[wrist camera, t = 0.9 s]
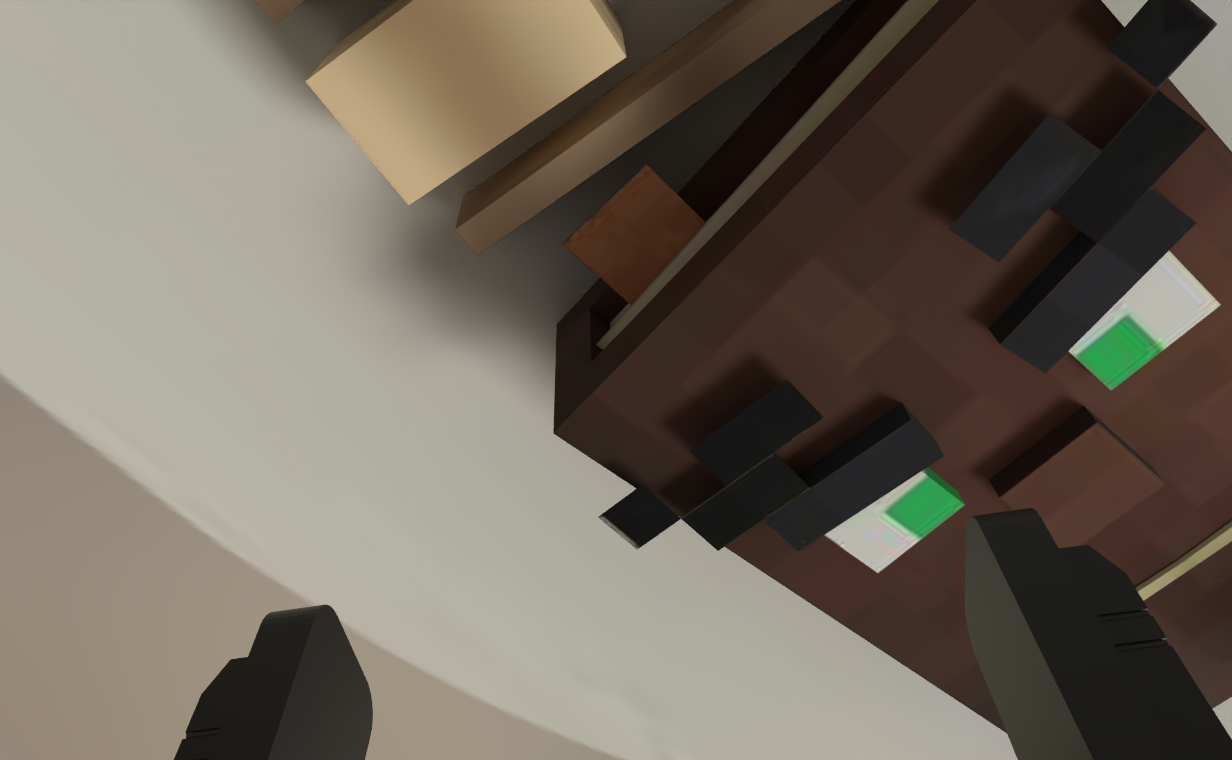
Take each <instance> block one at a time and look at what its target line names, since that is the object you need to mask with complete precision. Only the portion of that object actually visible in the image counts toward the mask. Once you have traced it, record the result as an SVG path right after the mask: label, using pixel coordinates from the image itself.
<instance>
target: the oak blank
mask: <svg viewBox="0 0 1232 760" xmlns="http://www.w3.org/2000/svg"><path fill="white" fill-rule="evenodd" d="M624 58H626V51H625V45H624V39H623V33H622V27H621V22H620V20H619V19H618V17H617V15H616V14H615V12H614V11H613V9H612V8H611V6H610V5H609V3H608V1H607V0H394V1H392V2H391V3H390V4H388V5H387V6H386V7H384V8H383V9H382V10H381V11H379V12H378V13H377V14H375V15H374V16H373V17H371V18H370V19H369V20H367V21H366V22H365V23H363V24H362V25H361V26H359V27H358V28H357V29H355V30H354V31H353V32H351V33H350V34H349V35H347V36H346V37H345V38H344V39H342V40H341V41H340V42H338V43H337V44H336V45H335V46H334V47H333V49H332V50H331V51H330V52H329V53H328V55H327V56H326V57H325V58H324V59H323V61H322V62H321V63H320V64H319V66H318V67H317V68H316V69H315V70H314V72H313V73H312V74H311V75H310V76H309V78H308V79H307V80H306V81H305V82H306V83H307V84H308V85H309V87H310V88H311V89H312V90H313V91H314V93H315V94H316V95H317V96H318V97H319V99H320V100H321V101H322V102H323V103H324V105H325V106H326V107H327V108H328V109H329V111H330V112H331V113H332V114H333V115H334V117H335V118H336V119H337V120H338V121H339V123H340V124H341V125H342V126H343V127H344V129H345V130H346V131H347V132H348V133H349V135H350V136H351V137H352V138H353V139H354V141H355V142H356V143H357V144H358V145H359V147H360V148H361V149H362V150H363V151H364V153H365V154H366V155H367V156H368V157H369V159H370V160H371V161H372V162H373V163H374V165H375V166H376V167H377V168H378V169H379V171H380V172H381V173H382V174H383V175H384V177H385V178H386V179H387V180H388V181H389V183H390V184H391V185H392V186H393V187H394V189H395V190H396V191H397V192H398V193H399V195H400V196H401V197H402V198H403V199H404V201H405V202H406V203H407V204H408V205H410V204H412V203H413V202H415V201H416V200H418V199H419V198H421V197H422V196H424V195H425V194H426V193H428V192H429V191H431V190H432V189H434V188H435V187H437V186H438V185H440V184H441V183H443V182H444V181H446V180H447V179H448V178H450V177H451V176H453V175H454V174H456V173H457V172H459V171H460V170H462V169H463V168H465V167H466V166H468V165H469V164H470V163H472V162H473V161H475V160H476V159H478V158H479V157H481V156H482V155H484V154H485V153H487V152H488V151H490V150H491V149H492V148H494V147H495V146H497V145H498V144H500V143H501V142H503V141H504V140H506V139H507V138H509V137H510V136H512V135H513V134H514V133H516V132H517V131H519V130H520V129H522V128H523V127H525V126H526V125H528V124H529V123H531V122H532V121H534V120H535V119H536V118H538V117H539V116H541V115H542V114H544V113H545V112H547V111H548V110H550V109H551V108H553V107H554V106H556V105H557V104H558V103H560V102H561V101H563V100H564V99H566V98H567V97H569V96H570V95H572V94H573V93H575V92H576V91H578V90H579V89H580V88H582V87H583V86H585V85H586V84H588V83H589V82H591V81H592V80H594V79H595V78H597V77H598V76H600V75H601V74H602V73H604V72H605V71H607V70H608V69H610V68H611V67H613V66H614V65H616V64H617V63H619V62H620V61H622V60H623V59H624Z"/></svg>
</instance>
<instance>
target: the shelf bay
mask: <svg viewBox="0 0 1232 760" xmlns="http://www.w3.org/2000/svg"><path fill="white" fill-rule="evenodd" d="M255 1H256V3H257V4H258V5H259V6H260V7H261V8H262V9H263V11H264V12H265V13H266V14H267V15H268V16H269V17H270V19H271V20H272V21H273V22H274V23H275V24H277V23H279V22H280V21H281V20H282V19H283V18H285V17H286V16H287V15H288V14H289V13H290V12H292V11H293V10H294V9H295V8H296V7H298V6H299V5H300V4H301V3H302V2H303V1H305V0H255ZM840 1H841V0H734V1H733V2H732V3H730V4H729V5H727V6H726V7H725V8H723V9H722V10H721V11H719V12H718V13H716V14H715V15H714V16H712V17H711V18H710V19H708V20H707V21H705V22H704V23H703V24H701V25H700V26H699V27H697V28H696V29H694V30H693V31H692V32H690V33H689V34H688V35H686V36H685V37H683V38H682V39H681V40H679V41H678V42H677V43H675V44H674V45H672V46H671V47H670V48H668V49H667V50H666V51H664V52H663V53H661V54H660V55H659V56H657V57H656V58H655V59H653V60H652V61H650V62H649V63H648V64H646V65H645V66H644V67H642V68H641V69H639V70H638V71H637V72H635V73H634V74H633V75H631V76H630V77H628V78H627V79H626V80H624V81H623V82H622V83H620V84H619V85H617V86H616V87H615V88H613V89H612V90H611V91H609V92H608V93H606V94H605V95H604V96H602V97H601V98H600V99H598V100H597V101H595V102H594V103H593V104H591V105H590V106H589V107H587V108H586V109H584V110H583V111H582V112H580V113H579V114H578V115H576V116H575V117H573V118H572V119H571V120H569V121H568V122H567V123H565V124H564V125H562V126H561V127H560V128H558V129H557V130H556V131H554V132H553V133H551V134H550V135H549V136H547V137H546V138H545V139H543V140H542V141H540V142H539V143H538V144H536V145H535V146H534V147H532V148H531V149H529V150H528V151H527V152H525V153H524V154H523V155H521V156H520V157H518V158H517V159H516V160H514V161H513V162H512V163H510V164H509V165H507V166H506V167H505V168H503V169H502V170H501V171H499V172H498V173H496V174H495V175H494V176H492V177H491V178H489V179H488V180H487V181H485V182H484V183H483V184H481V185H480V186H478V187H477V188H476V189H474V190H473V191H472V192H470V193H469V194H467V195H466V196H465V197H463V201H462V205H461V209H460V213H459V216H458V220H457V224H456V228H455V231H456V232H457V233H458V234H459V235H460V236H461V237H462V239H463V240H464V241H465V242H466V243H467V244H468V245H469V247H470V248H471V249H472V250H473V251H474V252H475V253H476V255H477V256H478V255H479V254H481V253H482V252H483V251H485V250H486V249H488V248H489V247H491V246H492V245H493V244H495V243H496V242H498V241H499V240H500V239H502V238H503V237H505V236H506V235H508V234H509V233H510V232H512V231H513V230H515V229H516V228H518V227H519V226H520V225H522V224H523V223H525V222H526V221H528V220H529V219H530V218H532V217H533V216H535V215H536V214H538V213H539V212H540V211H542V210H543V209H545V208H546V207H547V206H549V205H550V204H552V203H553V202H555V201H556V200H557V199H559V198H560V197H562V196H563V195H565V194H566V193H567V192H569V191H570V190H572V189H573V188H575V187H576V186H577V185H579V184H580V183H582V182H583V181H585V180H586V179H587V178H589V177H590V176H592V175H593V174H595V173H596V172H597V171H599V170H600V169H602V168H603V167H604V166H606V165H607V164H609V163H610V162H612V161H613V160H614V159H616V158H617V157H619V156H620V155H622V154H623V153H624V152H626V151H627V150H629V149H630V148H632V147H633V146H634V145H636V144H637V143H639V142H640V141H642V140H643V139H644V138H646V137H647V136H649V135H650V134H651V133H653V132H654V131H656V130H657V129H659V128H660V127H661V126H663V125H664V124H666V123H667V122H669V121H670V120H671V119H673V118H674V117H676V116H677V115H679V114H680V113H681V112H683V111H684V110H686V109H687V108H689V107H690V106H691V105H693V104H694V103H696V102H697V101H699V100H700V99H701V98H703V97H704V96H706V95H707V94H708V93H710V92H711V91H713V90H714V89H716V88H717V87H718V86H720V85H721V84H723V83H724V82H726V81H727V80H728V79H730V78H731V77H733V76H734V75H736V74H737V73H738V72H740V71H741V70H743V69H744V68H746V67H747V66H748V65H750V64H751V63H753V62H754V61H755V60H757V59H758V58H760V57H761V56H763V55H764V54H765V53H767V52H768V51H770V50H771V49H773V48H774V47H775V46H777V45H778V44H780V43H781V42H783V41H784V40H785V39H787V38H788V37H790V36H791V35H793V34H794V33H795V32H797V31H798V30H800V29H801V28H803V27H804V26H805V25H807V24H808V23H810V22H811V21H812V20H814V19H815V18H817V17H818V16H820V15H821V14H822V13H824V12H825V11H827V10H828V9H830V8H831V7H832V6H834V5H835V4H837V3H838V2H840Z"/></svg>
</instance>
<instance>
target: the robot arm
mask: <svg viewBox="0 0 1232 760" xmlns="http://www.w3.org/2000/svg"><path fill="white" fill-rule="evenodd" d="M965 614H966V621H967V627H968V632H969V636H970V640H971V644H972V648H973V651H974V654H975V656H976V659H977V661H978V664H979V666H980V669H981V671H982V674H983V676H984V678H985V681H986V683H987V686H988V688H989V691H990V693H991V695H992V698H993V700H994V703H995V705H996V708H997V710H998V712H999V715H1000V717H1001V720H1002V722H1003V725H1004V727H1005V729H1006V732H1007V734H1008V737H1009V739H1010V741H1011V744H1012V746H1013V749H1014V751H1015V754H1016V756H1017V758H1018V760H1232V739H1231V738H1230V736H1229V735H1228V733H1227V731H1226V730H1225V728H1224V727H1223V725H1222V724H1221V722H1220V720H1219V719H1218V717H1217V716H1216V714H1215V713H1214V711H1213V709H1212V708H1211V706H1210V705H1209V703H1208V702H1207V700H1206V698H1205V697H1204V695H1203V694H1202V692H1201V691H1200V689H1199V687H1198V686H1197V684H1196V683H1195V681H1194V680H1193V678H1192V676H1191V675H1190V673H1189V672H1188V670H1187V669H1186V667H1185V665H1184V664H1183V662H1182V661H1181V659H1180V658H1179V656H1178V654H1177V653H1176V651H1175V650H1174V648H1173V647H1172V645H1171V646H1169V645H1168V642H1167V637H1166V636H1165V634H1164V632H1163V631H1162V629H1161V628H1160V626H1159V625H1158V623H1157V621H1156V620H1155V618H1154V617H1153V616H1150V614H1149V611H1148V607H1147V606H1146V604H1145V603H1144V601H1143V599H1142V598H1141V596H1140V595H1139V593H1138V591H1137V590H1136V588H1135V587H1134V585H1133V584H1132V582H1131V580H1130V579H1129V577H1128V576H1127V574H1126V573H1125V572H1124V571H1122V570H1121V569H1120V568H1118V567H1117V566H1116V565H1115V564H1113V563H1112V562H1111V561H1109V560H1108V559H1107V558H1105V557H1104V556H1103V555H1101V554H1100V553H1099V552H1097V551H1096V550H1095V549H1093V548H1092V547H1091V546H1089V545H1081V546H1073V547H1066V548H1058V546H1057V545H1056V543H1055V541H1054V539H1053V538H1052V536H1051V534H1050V532H1049V531H1048V529H1047V527H1046V525H1045V524H1044V522H1043V520H1042V518H1041V517H1040V515H1039V514H1038V513H1037V511H1036V510H1034V509H1033V508H1026V509H1019V510H1012V511H1005V512H998V513H990V514H983V515H976V516H970V517H969V518H968V520H967V524H966V562H965ZM372 718H373V709H372V699H371V693H370V689H369V685H368V682H367V680H366V678H365V676H364V673H363V671H362V669H361V667H360V665H359V662H358V660H357V658H356V656H355V654H354V651H353V649H352V647H351V645H350V643H349V640H348V638H347V636H346V634H345V632H344V629H343V627H342V625H341V623H340V621H339V619H338V616H337V614H336V613H335V611H334V610H333V608H332V607H330V606H329V605H320V606H313V607H305V608H298V609H291V610H284V611H277V612H271V613H269V614H267V615H266V616H265V618H264V619H263V621H262V623H261V625H260V627H259V630H258V633H257V635H256V638H255V640H254V643H253V646H252V648H251V651H250V653H249V656H248V657H245V658H238V659H231V660H230V661H229V662H228V664H227V665H226V666H225V667H224V668H223V669H222V671H221V672H220V673H219V674H218V676H216V678H215V679H214V680H213V681H212V683H211V684H210V685H209V686H208V687H207V688H206V690H205V691H204V692H203V693H202V694H201V697H200V699H199V702H198V704H197V706H196V709H195V711H194V713H193V716H192V718H191V720H190V723H189V725H188V727H187V730H186V739H183V740H182V742H181V744H180V746H179V749H178V751H177V753H176V756H175V758H174V760H365V756H366V752H367V748H368V744H369V739H370V734H371V730H372Z"/></svg>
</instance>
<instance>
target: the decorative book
mask: <svg viewBox="0 0 1232 760" xmlns="http://www.w3.org/2000/svg"><path fill="white" fill-rule="evenodd" d="M1216 25H1217V23H1216V22H1215V21H1214V20H1212V19H1211V18H1210V17H1209V16H1208V15H1207V14H1205V13H1204V12H1203V11H1202V10H1201V9H1200V8H1198V7H1197V6H1196V5H1195V4H1194V3H1193V2H1191V1H1190V0H1148V1H1147V2H1146V4H1145V5H1144V6H1143V7H1142V8H1141V9H1140V10H1139V12H1138V13H1137V14H1136V15H1135V16H1134V17H1133V18H1132V20H1131V21H1130V22H1129V23H1128V24H1127V25H1126V27H1125V28H1124V26H1123V25H1122V24H1121V23H1120V22H1119V21H1118V19H1117V18H1116V17H1115V16H1114V15H1113V14H1112V12H1111V11H1110V10H1109V9H1108V8H1107V7H1106V6H1105V4H1104V3H1103V2H1102V1H1101V0H856V1H855V2H854V3H853V4H852V5H851V6H850V7H849V8H848V9H847V11H846V12H845V13H844V14H843V15H842V16H841V17H840V18H839V19H838V20H837V21H836V22H835V24H834V25H833V26H832V27H831V28H830V29H829V30H828V31H827V32H826V33H825V34H824V35H823V37H822V38H821V39H820V40H819V41H818V42H817V43H816V44H815V45H814V46H813V47H812V48H811V50H810V51H809V52H808V53H807V54H806V55H805V56H804V57H803V58H802V59H801V60H800V61H799V63H798V64H797V65H796V66H795V67H794V68H793V69H792V70H791V71H790V72H789V73H788V75H787V76H786V77H785V78H784V79H783V80H782V81H781V82H780V83H779V84H778V85H777V86H776V88H775V89H774V90H773V91H772V92H771V93H770V94H769V95H768V96H767V97H766V98H765V99H764V101H763V102H762V103H761V104H760V105H759V106H758V107H757V108H756V109H755V110H754V111H753V112H752V114H751V115H750V116H749V117H748V118H747V119H746V120H745V121H744V122H743V123H742V124H741V125H740V127H739V128H738V129H737V130H736V131H735V132H734V133H733V134H732V135H731V136H730V137H729V139H728V140H727V141H726V142H725V143H724V144H723V145H722V146H721V147H720V148H719V149H718V150H717V152H716V153H715V154H714V155H713V156H712V157H711V158H710V159H709V160H708V161H707V162H706V163H705V165H704V166H703V167H702V168H701V169H700V170H699V171H698V172H697V173H696V174H695V175H694V176H693V178H692V179H691V180H690V181H689V182H688V183H687V184H686V185H685V186H684V187H683V188H682V189H681V191H680V192H679V193H678V194H676V193H675V192H674V191H673V190H672V189H671V188H670V187H669V186H668V185H667V184H666V183H665V182H664V181H663V180H662V179H661V178H660V177H659V176H658V175H657V174H656V173H655V172H654V171H653V170H652V169H651V168H650V167H649V166H648V165H647V164H646V165H645V166H644V167H643V168H642V169H641V170H640V171H639V172H638V173H637V174H635V175H634V176H633V177H632V178H631V179H630V180H629V181H628V182H627V183H626V184H625V185H624V186H623V187H622V188H621V189H620V190H619V191H618V192H616V193H615V194H614V195H613V196H612V197H611V198H610V199H609V200H608V201H607V202H606V203H605V204H604V205H603V206H602V207H601V208H600V209H599V210H597V211H596V212H595V213H594V214H593V215H592V216H591V217H590V218H589V219H588V220H587V221H586V222H585V223H584V224H583V225H582V226H581V227H580V228H578V229H577V230H576V231H575V232H574V233H573V234H572V235H571V236H570V237H569V238H568V239H567V240H566V241H565V242H564V243H563V245H565V246H566V247H567V248H568V249H569V250H570V251H571V252H572V253H573V254H575V255H576V256H577V257H578V258H579V259H580V260H581V261H582V262H583V263H585V264H586V265H587V266H588V267H589V268H590V269H591V270H592V271H594V272H595V273H596V274H597V275H598V276H599V277H600V278H599V280H598V281H597V282H596V283H595V284H594V285H593V286H592V287H591V288H590V289H589V290H588V291H587V293H586V294H585V295H584V296H583V297H582V298H581V299H580V300H579V301H578V302H577V303H576V304H575V306H574V307H573V308H572V309H571V310H570V311H569V312H568V313H567V314H566V315H565V316H564V317H563V319H562V320H561V321H560V322H559V323H558V324H557V337H556V370H555V403H554V434H555V435H557V436H558V437H560V438H561V439H563V440H564V441H566V442H567V443H569V444H570V445H572V446H573V447H575V448H576V449H578V450H579V451H581V452H582V453H584V454H585V455H587V456H588V457H590V458H591V459H593V460H594V461H596V462H597V463H599V464H600V465H602V466H603V467H605V468H607V469H608V470H610V471H611V472H613V473H614V474H616V475H617V476H619V477H620V478H622V479H623V480H625V481H626V482H628V483H629V484H631V485H632V486H634V487H635V488H637V489H636V490H634V491H633V492H632V493H630V494H629V495H628V496H626V497H625V498H624V499H622V500H621V501H619V502H618V503H617V504H615V505H614V506H613V507H611V508H610V509H608V510H607V511H606V512H604V513H603V514H602V515H600V516H599V517H598V518H600V519H601V520H602V521H603V522H604V523H606V524H607V525H608V526H609V527H610V528H612V529H613V530H614V531H615V532H616V533H618V534H619V535H620V536H621V537H622V538H624V539H625V540H626V541H627V542H629V543H630V544H631V545H632V546H633V547H635V548H636V549H639V548H640V547H641V546H643V545H644V544H646V543H647V542H649V541H650V540H651V539H653V538H654V537H656V536H657V535H659V534H660V533H661V532H663V531H664V530H666V529H667V528H668V527H670V526H671V525H673V524H674V523H676V522H677V521H678V520H680V519H682V520H683V521H684V522H686V523H687V524H688V525H689V526H690V527H691V528H692V529H694V530H695V531H696V532H697V533H698V534H699V535H700V536H702V537H703V538H704V539H705V540H706V541H707V542H709V543H710V544H711V545H712V546H713V547H714V548H715V549H717V550H718V551H719V550H720V549H721V548H723V547H724V546H725V547H726V548H728V549H729V550H731V551H732V552H734V553H735V554H737V555H738V556H740V557H741V558H743V559H744V560H746V561H747V562H749V563H750V564H752V565H753V566H755V567H756V568H758V569H759V570H761V571H762V572H764V573H765V574H767V575H768V576H770V577H771V578H773V579H774V580H776V581H777V582H779V583H780V584H782V585H784V586H785V587H787V588H788V589H790V590H791V591H793V592H794V593H796V594H797V595H799V596H800V597H802V598H803V599H805V600H806V601H808V602H809V603H811V604H812V605H814V606H815V607H817V608H818V609H820V610H821V611H823V612H824V613H826V614H827V615H829V616H830V617H832V618H833V619H835V620H836V621H838V622H839V623H841V624H843V625H844V626H846V627H847V628H849V629H850V630H852V631H853V632H855V633H856V634H858V635H859V636H861V637H862V638H864V639H865V640H867V641H868V642H870V643H871V644H873V645H874V646H876V647H877V648H879V649H880V650H882V651H883V652H885V653H886V654H888V655H889V656H891V657H892V658H894V659H895V660H897V661H898V662H900V663H902V664H903V665H905V666H906V667H908V668H909V669H911V670H912V671H914V672H915V673H917V674H918V675H920V676H921V677H923V678H924V679H926V680H927V681H929V682H930V683H932V684H933V685H935V686H936V687H938V688H939V689H941V690H942V691H944V692H945V693H947V694H948V695H950V696H951V697H953V698H954V699H956V700H957V701H959V702H961V703H962V704H964V705H965V706H967V707H968V708H970V709H971V710H973V711H974V712H976V713H977V714H979V715H980V716H982V717H983V718H985V719H986V720H988V721H989V722H991V723H992V724H994V725H995V726H997V727H998V728H1000V729H1001V730H1003V731H1004V732H1006V729H1005V727H1004V725H1003V722H1002V720H1001V717H1000V715H999V712H998V710H997V708H996V705H995V703H994V700H993V698H992V695H991V693H990V691H989V688H988V686H987V683H986V681H985V678H984V676H983V674H982V671H981V669H980V666H979V664H978V661H977V659H976V656H975V654H974V651H973V648H972V644H971V640H970V636H969V632H968V627H967V621H966V614H965V562H966V524H967V520H968V518H969V517H970V516H976V515H983V514H990V513H998V512H1005V511H1012V510H1019V509H1026V508H1033V509H1034V510H1036V511H1037V513H1038V514H1039V515H1040V517H1041V518H1042V520H1043V522H1044V524H1045V525H1046V527H1047V529H1048V531H1049V532H1050V534H1051V536H1052V538H1053V539H1054V541H1055V543H1056V545H1057V546H1058V548H1066V547H1073V546H1081V545H1089V546H1091V547H1092V548H1093V549H1095V550H1096V551H1097V552H1099V553H1100V554H1101V555H1103V556H1104V557H1105V558H1107V559H1108V560H1109V561H1111V562H1112V563H1113V564H1115V565H1116V566H1117V567H1118V568H1120V569H1121V570H1122V571H1124V572H1125V573H1126V574H1127V576H1128V577H1129V579H1130V580H1131V582H1132V584H1133V585H1134V587H1135V588H1136V590H1137V591H1138V593H1139V595H1140V596H1141V598H1142V599H1143V601H1144V603H1145V604H1146V606H1147V607H1148V611H1149V614H1150V616H1153V617H1154V618H1155V620H1156V621H1157V623H1158V625H1159V626H1160V628H1161V629H1162V631H1163V632H1164V634H1165V636H1166V637H1167V642H1168V645H1169V646H1171V645H1172V647H1173V648H1174V650H1175V651H1176V653H1177V654H1178V656H1179V658H1180V659H1181V661H1182V662H1183V664H1184V665H1185V667H1186V669H1187V670H1188V672H1189V673H1190V675H1191V676H1192V678H1193V680H1194V681H1195V683H1196V684H1197V686H1198V687H1199V689H1200V691H1201V692H1202V694H1203V695H1204V697H1205V698H1206V700H1207V702H1208V703H1209V705H1210V706H1211V708H1214V707H1216V706H1217V705H1219V704H1220V703H1222V702H1224V701H1225V700H1227V699H1229V698H1230V697H1232V152H1231V151H1230V149H1229V148H1228V147H1227V146H1226V145H1225V144H1224V142H1223V141H1222V140H1221V139H1220V138H1219V137H1218V135H1217V134H1216V133H1215V132H1214V131H1213V130H1212V128H1211V127H1210V126H1209V125H1208V124H1207V123H1206V122H1205V120H1204V119H1203V118H1202V117H1201V116H1200V115H1199V113H1198V112H1197V111H1196V110H1195V109H1194V108H1193V106H1192V105H1191V104H1190V103H1189V102H1188V101H1187V99H1186V98H1185V97H1184V96H1183V95H1182V94H1181V93H1180V91H1179V90H1178V89H1177V88H1176V87H1175V86H1174V84H1173V83H1172V82H1171V81H1170V80H1169V79H1168V78H1169V77H1170V76H1171V74H1172V73H1173V72H1174V71H1175V70H1176V69H1177V68H1178V67H1179V66H1180V65H1181V64H1182V62H1183V61H1184V60H1185V59H1186V58H1187V57H1188V56H1189V55H1190V54H1191V53H1192V51H1193V50H1194V49H1195V48H1196V47H1197V46H1198V45H1199V44H1200V43H1201V42H1202V41H1203V39H1204V38H1205V37H1206V36H1207V35H1208V34H1209V33H1210V32H1211V31H1212V30H1213V28H1214V27H1215V26H1216ZM680 517H681V518H680ZM1006 733H1007V732H1006Z"/></svg>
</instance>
